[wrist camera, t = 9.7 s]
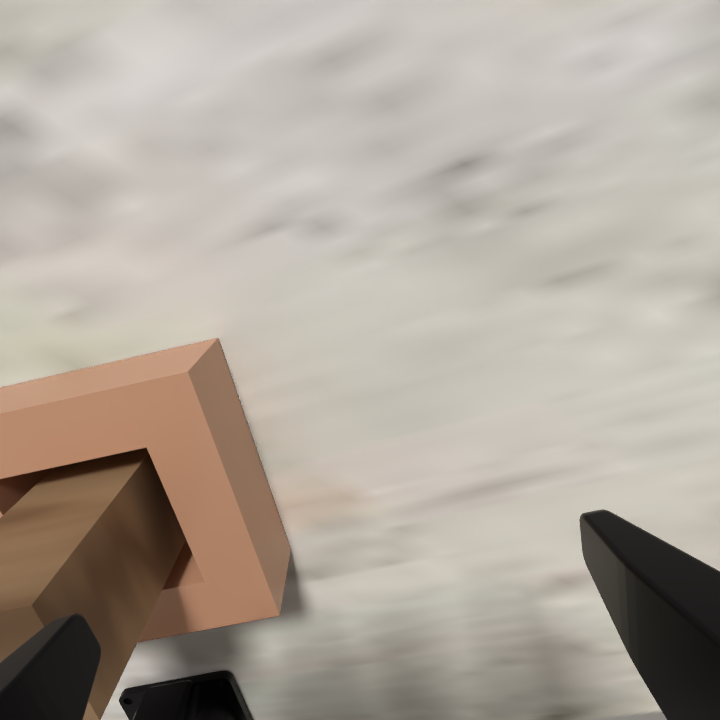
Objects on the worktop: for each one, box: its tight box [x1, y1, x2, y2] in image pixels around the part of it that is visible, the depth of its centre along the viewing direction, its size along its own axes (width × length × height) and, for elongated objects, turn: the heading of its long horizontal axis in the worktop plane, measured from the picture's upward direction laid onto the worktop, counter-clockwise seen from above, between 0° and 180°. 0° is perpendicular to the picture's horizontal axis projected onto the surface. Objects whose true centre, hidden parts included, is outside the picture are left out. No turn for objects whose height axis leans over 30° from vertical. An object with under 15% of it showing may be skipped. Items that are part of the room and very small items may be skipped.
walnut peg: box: [0, 447, 186, 720], centre depth 18 cm, size 4×4×10 cm
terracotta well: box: [0, 338, 291, 643], centre depth 21 cm, size 12×12×4 cm
